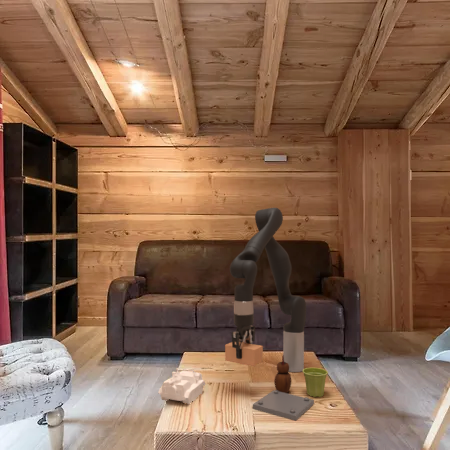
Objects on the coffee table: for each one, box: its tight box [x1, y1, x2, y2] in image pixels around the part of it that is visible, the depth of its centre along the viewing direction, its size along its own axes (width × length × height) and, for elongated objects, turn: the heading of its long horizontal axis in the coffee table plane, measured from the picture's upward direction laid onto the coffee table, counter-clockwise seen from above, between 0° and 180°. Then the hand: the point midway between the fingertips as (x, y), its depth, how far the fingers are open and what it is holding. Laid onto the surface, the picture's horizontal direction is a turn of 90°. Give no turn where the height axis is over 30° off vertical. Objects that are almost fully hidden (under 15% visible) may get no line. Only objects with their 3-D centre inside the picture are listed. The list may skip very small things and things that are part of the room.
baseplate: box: [252, 389, 315, 421], centre depth 139 cm, size 16×16×2 cm
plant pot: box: [302, 367, 328, 398], centre depth 151 cm, size 9×9×9 cm
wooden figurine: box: [274, 355, 292, 394], centre depth 153 cm, size 7×6×15 cm
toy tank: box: [158, 367, 206, 405], centre depth 146 cm, size 12×20×10 cm, turn 159°
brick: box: [224, 341, 264, 367], centre depth 152 cm, size 6×13×6 cm, turn 57°
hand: (243, 356), depth 152 cm, fingers closed on brick, 6 cm apart
